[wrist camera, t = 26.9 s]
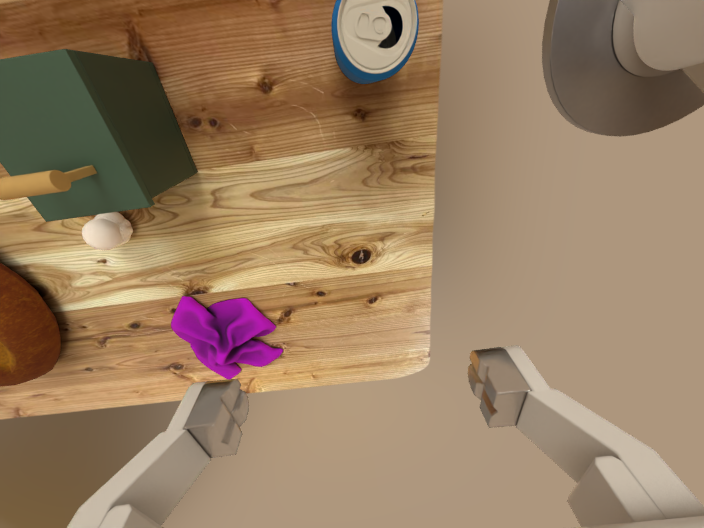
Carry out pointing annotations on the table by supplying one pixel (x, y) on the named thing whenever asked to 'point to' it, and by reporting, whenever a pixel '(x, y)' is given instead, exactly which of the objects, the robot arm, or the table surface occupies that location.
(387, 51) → the beverage can
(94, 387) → the table surface
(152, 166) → the bin
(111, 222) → the microfossil shell
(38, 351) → the bread
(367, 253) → the table surface
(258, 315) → the cloth
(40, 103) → the bin lid
